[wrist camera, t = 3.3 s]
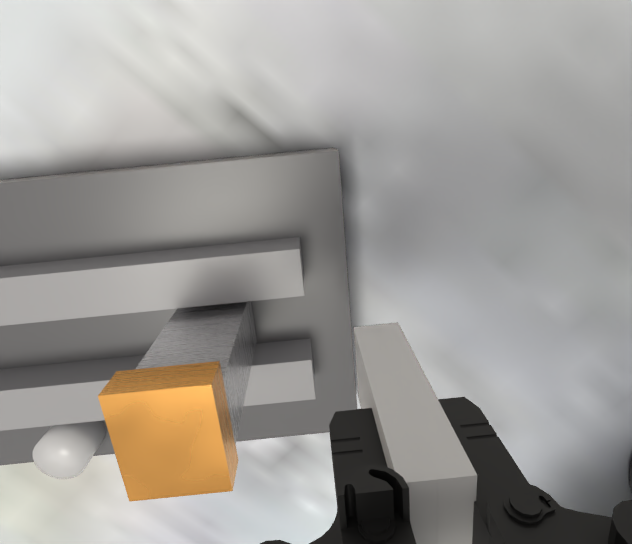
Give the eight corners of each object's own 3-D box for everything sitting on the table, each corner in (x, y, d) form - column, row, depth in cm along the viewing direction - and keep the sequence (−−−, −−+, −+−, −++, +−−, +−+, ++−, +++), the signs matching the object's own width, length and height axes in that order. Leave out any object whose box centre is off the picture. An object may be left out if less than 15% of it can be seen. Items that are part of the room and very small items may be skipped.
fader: (248, 280, 19) (211, 384, 11) (258, 351, 20) (232, 491, 12) (181, 286, 19) (97, 396, 11) (195, 357, 20) (129, 501, 12)
